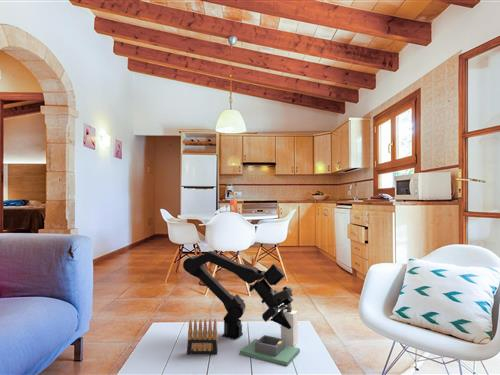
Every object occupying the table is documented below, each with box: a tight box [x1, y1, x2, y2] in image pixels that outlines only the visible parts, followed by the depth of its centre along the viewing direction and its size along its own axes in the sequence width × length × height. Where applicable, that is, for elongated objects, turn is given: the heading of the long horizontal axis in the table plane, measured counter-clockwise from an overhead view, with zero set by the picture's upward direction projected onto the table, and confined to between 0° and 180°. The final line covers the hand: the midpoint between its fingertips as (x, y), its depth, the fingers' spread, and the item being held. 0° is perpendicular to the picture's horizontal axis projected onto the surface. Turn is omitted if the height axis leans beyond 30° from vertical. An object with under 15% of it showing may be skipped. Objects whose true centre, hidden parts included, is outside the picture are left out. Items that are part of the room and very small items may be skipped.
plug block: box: [280, 305, 299, 347], centre depth 126 cm, size 5×4×14 cm
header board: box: [239, 334, 301, 367], centre depth 118 cm, size 18×12×4 cm, turn 62°
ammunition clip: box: [186, 318, 218, 356], centre depth 117 cm, size 11×2×12 cm, turn 90°
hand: (292, 326), depth 126 cm, fingers closed on plug block, 4 cm apart
